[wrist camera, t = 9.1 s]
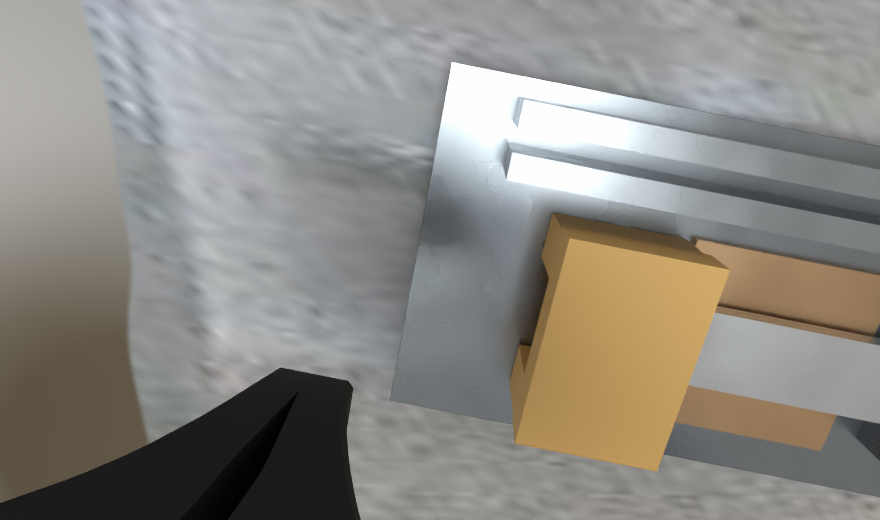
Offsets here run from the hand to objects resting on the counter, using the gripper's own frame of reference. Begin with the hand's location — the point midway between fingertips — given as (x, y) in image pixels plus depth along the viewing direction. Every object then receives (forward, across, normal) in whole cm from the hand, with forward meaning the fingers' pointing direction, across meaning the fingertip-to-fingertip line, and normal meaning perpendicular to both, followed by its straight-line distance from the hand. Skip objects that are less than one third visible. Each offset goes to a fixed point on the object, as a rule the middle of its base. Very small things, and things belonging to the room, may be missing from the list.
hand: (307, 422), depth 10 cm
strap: (+8, -12, 0) cm, 14 cm away
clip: (+8, -7, 0) cm, 11 cm away
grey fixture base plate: (+10, -11, -1) cm, 15 cm away
